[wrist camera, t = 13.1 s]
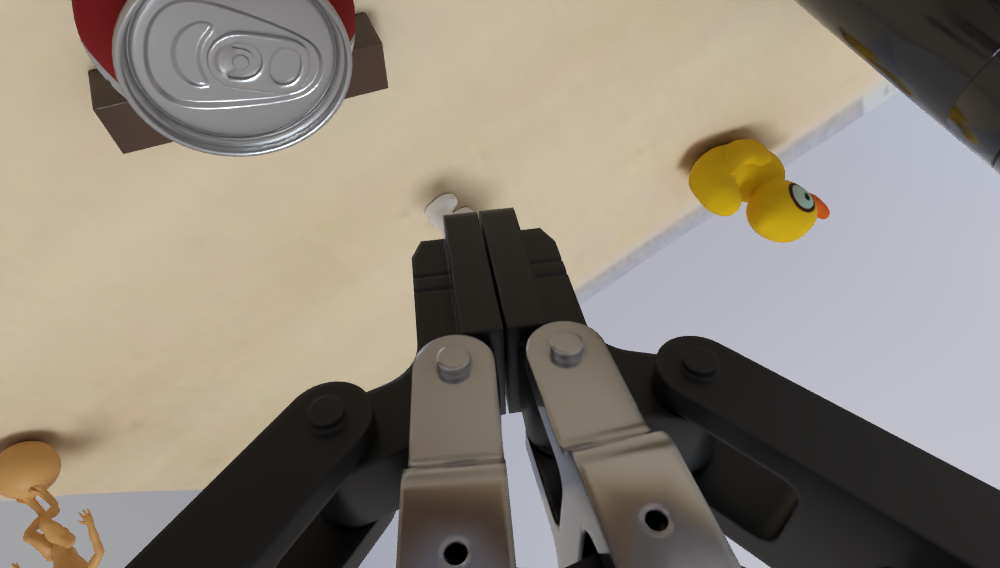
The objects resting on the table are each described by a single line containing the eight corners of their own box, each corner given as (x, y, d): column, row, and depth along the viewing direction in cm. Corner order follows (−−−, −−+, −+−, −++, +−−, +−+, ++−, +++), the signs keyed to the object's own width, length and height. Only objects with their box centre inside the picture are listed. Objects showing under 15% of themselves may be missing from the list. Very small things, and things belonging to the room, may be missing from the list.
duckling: (783, 123, 53) (862, 203, 48) (748, 168, 57) (818, 245, 52) (692, 132, 47) (770, 222, 43) (660, 180, 52) (728, 268, 47)
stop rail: (117, 117, 27) (123, 154, 26) (87, 70, 25) (92, 109, 23) (372, 57, 30) (388, 88, 29) (365, 12, 28) (382, 42, 26)
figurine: (28, 413, 40) (35, 591, 35) (116, 419, 46) (135, 576, 40) (-40, 471, 42) (-44, 650, 37) (51, 472, 48) (60, 628, 42)
